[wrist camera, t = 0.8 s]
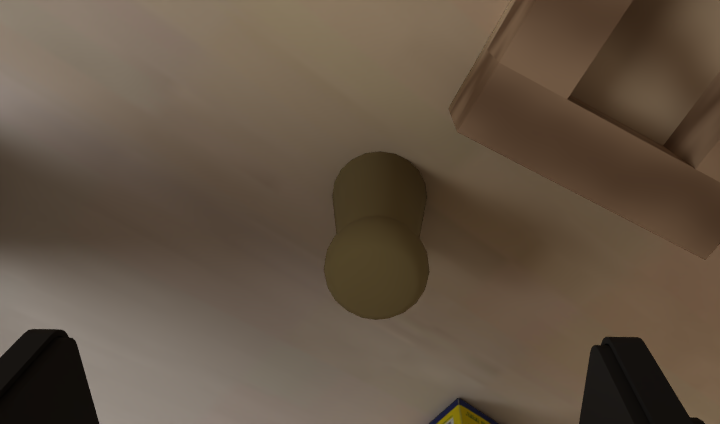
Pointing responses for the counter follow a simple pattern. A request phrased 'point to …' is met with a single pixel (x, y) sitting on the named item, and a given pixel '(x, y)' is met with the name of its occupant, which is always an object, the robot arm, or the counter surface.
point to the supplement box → (462, 415)
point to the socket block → (609, 106)
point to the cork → (377, 237)
